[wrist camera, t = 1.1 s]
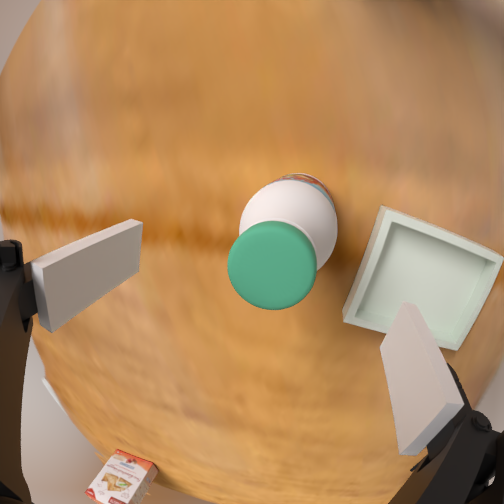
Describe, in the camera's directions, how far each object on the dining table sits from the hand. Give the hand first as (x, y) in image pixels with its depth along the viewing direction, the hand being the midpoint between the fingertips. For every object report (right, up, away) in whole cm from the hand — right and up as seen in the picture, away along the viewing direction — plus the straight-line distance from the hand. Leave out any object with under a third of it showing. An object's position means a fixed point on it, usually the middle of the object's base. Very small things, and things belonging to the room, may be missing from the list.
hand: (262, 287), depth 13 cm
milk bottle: (+5, +7, +20) cm, 22 cm away
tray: (+21, -2, +19) cm, 28 cm away
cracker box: (-35, -61, +52) cm, 88 cm away
